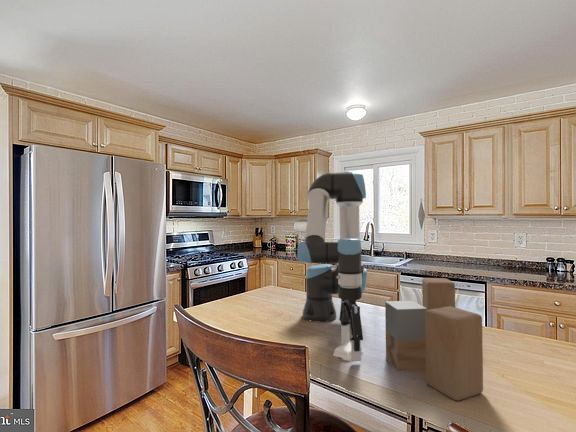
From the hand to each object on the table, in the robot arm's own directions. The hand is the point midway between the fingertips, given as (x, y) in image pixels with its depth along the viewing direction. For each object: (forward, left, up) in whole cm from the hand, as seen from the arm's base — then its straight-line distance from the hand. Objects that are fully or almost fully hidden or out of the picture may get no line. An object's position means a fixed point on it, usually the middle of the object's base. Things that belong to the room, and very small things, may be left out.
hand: (350, 352), depth 106 cm
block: (+23, +21, -1) cm, 31 cm away
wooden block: (-18, +40, -1) cm, 44 cm away
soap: (-1, 0, -1) cm, 2 cm away
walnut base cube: (+8, +15, -1) cm, 17 cm away
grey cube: (+8, +15, +8) cm, 19 cm away
